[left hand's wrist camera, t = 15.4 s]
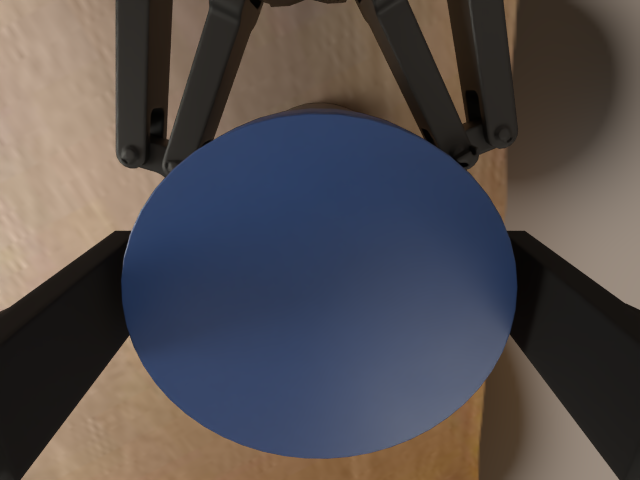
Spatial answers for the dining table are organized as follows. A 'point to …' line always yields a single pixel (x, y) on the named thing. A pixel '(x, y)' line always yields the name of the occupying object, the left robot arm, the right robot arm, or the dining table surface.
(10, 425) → the left robot arm
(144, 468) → the dining table surface
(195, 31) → the dining table surface
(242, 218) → the lid
